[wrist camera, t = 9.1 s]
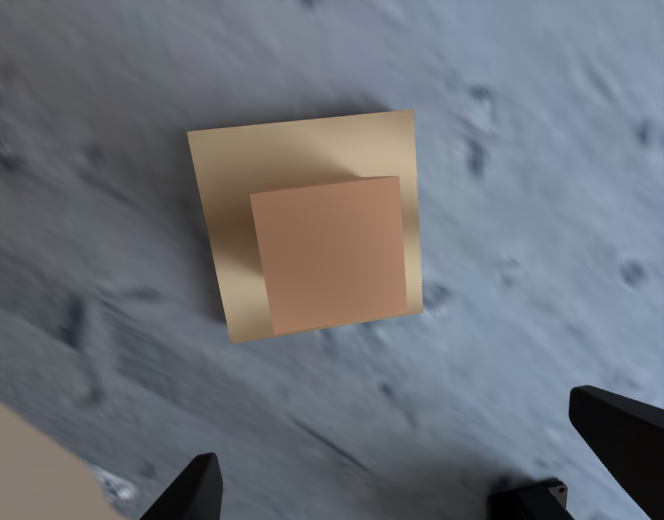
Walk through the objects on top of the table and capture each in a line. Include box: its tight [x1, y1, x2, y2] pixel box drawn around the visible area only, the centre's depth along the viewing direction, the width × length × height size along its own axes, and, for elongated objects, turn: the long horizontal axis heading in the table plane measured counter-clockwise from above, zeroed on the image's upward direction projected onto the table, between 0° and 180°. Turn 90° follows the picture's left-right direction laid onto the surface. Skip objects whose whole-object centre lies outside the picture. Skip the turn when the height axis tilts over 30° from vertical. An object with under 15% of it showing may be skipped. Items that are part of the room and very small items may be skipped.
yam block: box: [250, 176, 408, 334], centre depth 14 cm, size 5×5×6 cm
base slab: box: [187, 109, 423, 344], centre depth 18 cm, size 11×11×2 cm
